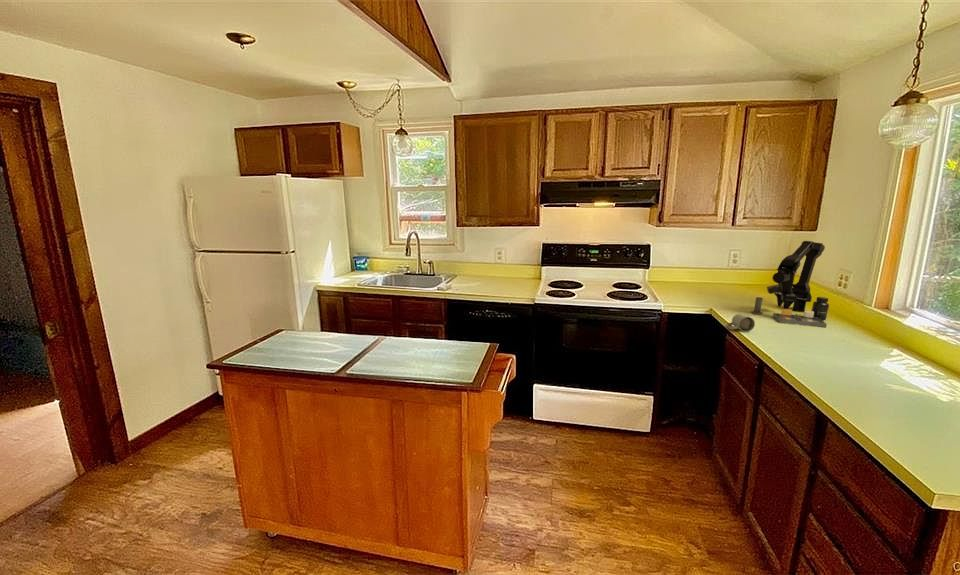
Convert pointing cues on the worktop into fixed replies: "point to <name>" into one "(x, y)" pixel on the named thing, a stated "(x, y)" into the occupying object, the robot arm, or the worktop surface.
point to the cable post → (757, 306)
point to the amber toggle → (786, 312)
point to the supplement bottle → (820, 308)
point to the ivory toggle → (808, 314)
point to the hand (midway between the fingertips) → (781, 308)
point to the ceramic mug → (742, 323)
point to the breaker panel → (799, 320)
